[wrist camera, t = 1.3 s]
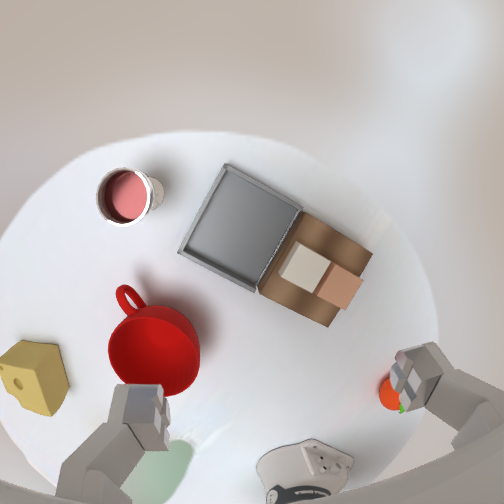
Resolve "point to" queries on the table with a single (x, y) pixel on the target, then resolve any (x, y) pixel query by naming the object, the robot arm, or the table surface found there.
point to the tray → (238, 227)
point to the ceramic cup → (154, 345)
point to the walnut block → (326, 245)
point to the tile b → (338, 285)
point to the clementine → (390, 397)
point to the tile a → (304, 267)
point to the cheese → (35, 376)
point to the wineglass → (128, 196)
